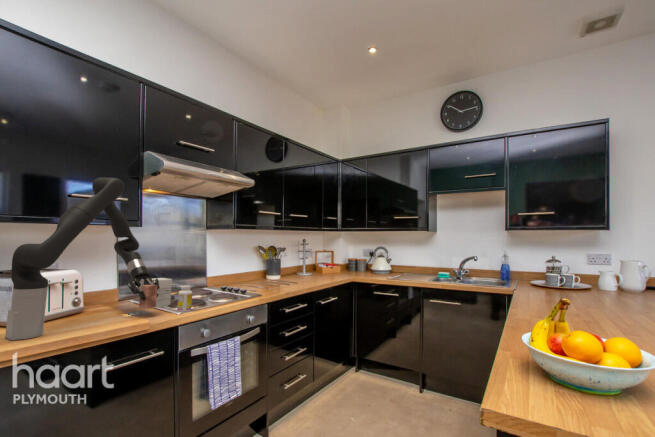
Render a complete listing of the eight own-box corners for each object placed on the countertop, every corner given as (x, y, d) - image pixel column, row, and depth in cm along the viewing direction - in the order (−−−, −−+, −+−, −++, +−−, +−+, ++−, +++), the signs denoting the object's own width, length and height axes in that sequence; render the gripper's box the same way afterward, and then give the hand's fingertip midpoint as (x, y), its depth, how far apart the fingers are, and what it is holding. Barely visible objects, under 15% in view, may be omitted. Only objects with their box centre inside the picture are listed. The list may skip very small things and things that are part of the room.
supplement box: (144, 306, 169) (146, 278, 171) (160, 304, 177) (162, 277, 179) (155, 308, 165) (157, 280, 167) (170, 306, 173) (172, 278, 174)
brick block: (145, 308, 143) (147, 286, 144) (139, 307, 146) (140, 285, 146) (155, 306, 147) (157, 285, 148) (149, 305, 150) (151, 284, 151)
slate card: (127, 318, 143) (127, 317, 143) (115, 315, 148) (115, 314, 148) (152, 313, 154) (152, 313, 154) (140, 311, 158) (141, 310, 159)
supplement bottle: (191, 309, 166) (193, 284, 167) (191, 312, 160) (192, 286, 161) (177, 310, 164) (179, 285, 165) (176, 312, 158) (178, 286, 159)
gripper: (125, 266, 145) (138, 295, 139) (155, 264, 158) (168, 291, 151) (118, 276, 148) (131, 306, 141) (148, 274, 160) (161, 301, 153)
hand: (150, 298), depth 146 cm, fingers closed on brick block, 5 cm apart
